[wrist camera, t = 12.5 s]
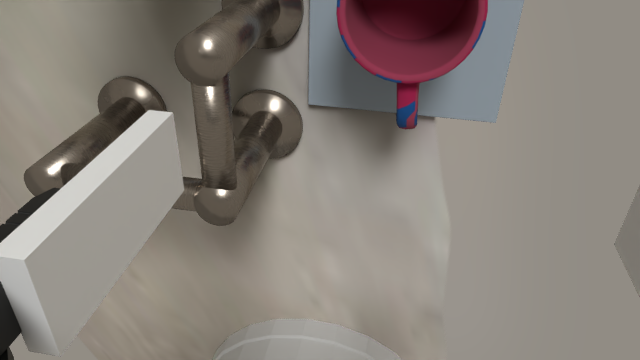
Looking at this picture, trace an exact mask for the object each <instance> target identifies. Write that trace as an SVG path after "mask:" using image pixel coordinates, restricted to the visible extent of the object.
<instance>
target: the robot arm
mask: <svg viewBox="0 0 640 360" xmlns="http://www.w3.org/2000/svg"><path fill="white" fill-rule="evenodd" d="M183 191H184V184H183V177H182V170H181V163H180V157H179V150H178V143H177V136H176V129H175V122H174V115H173V112H164V111H154V110H148V111H147V112H146V113H145V114H144V115H143V116H142V117H140V118H139V119H138V120H137V121H136V122H135V123H134V124H133V125H132V126H130V127H129V128H128V129H127V130H126V131H125V132H124V133H123V134H121V135H120V136H119V137H118V138H117V139H116V140H115V141H114V142H113V143H111V144H110V145H109V146H108V147H107V148H106V149H105V150H104V151H102V152H101V153H100V154H99V155H98V156H97V157H96V158H95V159H94V160H92V161H91V162H90V163H89V164H88V165H87V166H86V167H85V168H83V169H82V170H81V171H80V172H79V173H78V174H77V175H76V176H75V177H73V178H72V179H71V180H70V181H69V182H68V183H67V184H66V185H64V186H63V187H62V188H52V189H50V190H48V191H46V192H44V193H42V194H40V195H38V196H36V197H34V198H32V199H31V200H30V201H29V202H28V203H26V204H25V205H24V206H23V207H22V208H21V209H19V210H18V213H15V214H14V215H12V216H11V217H10V218H9V219H8V220H7V221H6V224H2V225H1V226H0V360H14V357H13V355H12V352H11V350H10V348H9V346H10V345H11V344H12V342H13V341H14V340H15V339H16V338H17V336H18V335H19V334H20V333H21V334H22V336H23V339H24V341H25V343H26V345H27V348H28V350H29V351H32V352H37V353H43V354H49V355H54V356H60V357H61V356H62V355H63V353H64V352H65V351H66V349H67V348H68V347H69V345H70V344H71V343H72V341H73V340H74V339H75V337H76V336H77V335H78V333H79V332H80V330H81V329H82V328H83V326H84V325H85V324H86V322H87V321H88V320H89V318H90V317H91V316H92V314H93V313H94V312H95V310H96V309H97V307H98V306H99V305H100V303H101V302H102V301H103V299H104V298H105V297H106V295H107V294H108V293H109V291H110V290H111V289H112V287H113V286H114V284H115V283H116V282H117V280H118V279H119V278H120V276H121V275H122V274H123V272H124V271H125V270H126V268H127V267H128V266H129V264H130V263H131V262H132V260H133V259H134V257H135V256H136V255H137V253H138V252H139V251H140V249H141V248H142V247H143V245H144V244H145V243H146V241H147V240H148V239H149V237H150V236H151V234H152V233H153V232H154V230H155V229H156V228H157V226H158V225H159V224H160V222H161V221H162V220H163V218H164V217H165V216H166V214H167V213H168V211H169V210H170V209H171V207H172V206H173V205H174V203H175V202H176V201H177V199H178V198H179V197H180V195H181V194H182V193H183ZM614 245H615V247H616V249H617V251H618V253H619V255H620V258H621V260H622V262H623V264H624V266H625V268H626V270H627V272H628V274H629V276H630V278H631V280H632V282H633V285H634V287H635V289H636V291H637V293H638V295H639V297H640V186H639V188H638V190H637V193H636V195H635V197H634V199H633V202H632V204H631V206H630V209H629V211H628V213H627V216H626V218H625V220H624V223H623V225H622V227H621V230H620V232H619V234H618V236H617V239H616V241H615V243H614Z"/></svg>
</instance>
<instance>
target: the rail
mask: <svg viewBox="0 0 640 360" xmlns="http://www.w3.org/2000/svg"><path fill="white" fill-rule="evenodd" d="M303 11H304V5H303V0H222V10H221V11H220V12H219V13H217V14H216V15H214V16H213V17H212V18H210V19H209V20H207V21H206V22H205V23H203V24H202V25H200V26H199V27H197V28H196V29H195V30H193V31H192V32H190V33H189V34H188V35H186V36H185V37H183V38H182V39H181V40H180V41H179V42H178V44H177V46H176V49H175V62H176V65H177V67H178V69H179V71H180V73H181V74H182V75H183V76H184V77H185V78H186V79H187V80H188V81H190V82H191V88H192V97H193V105H194V114H195V122H196V131H197V139H198V148H199V156H200V165H201V173H202V179H198V178H189V177H183V184H184V191H183V193H182V194H181V195H180V197H179V198H178V199H177V201H176V202H175V203H174V205H173V206H172V207H171V208H174V209H181V210H189V211H196V212H197V213H198V215H199V216H200V217H201V218H202V219H204V220H205V221H206V222H208V223H210V224H213V225H217V226H224V225H228V224H230V223H232V222H233V221H234V220H235V219H236V217H237V215H238V213H239V211H240V209H241V208H242V206H243V204H244V202H245V200H246V198H247V197H248V195H249V193H250V191H251V189H252V187H253V186H254V184H255V182H256V180H257V178H258V176H259V175H260V173H261V171H262V169H263V167H264V165H265V164H266V162H267V160H268V158H270V159H272V158H280V157H283V156H285V155H287V154H289V153H290V152H291V151H292V150H294V148H295V147H296V146H297V144H298V142H299V140H300V138H301V135H302V131H303V122H302V118H301V115H300V113H299V111H298V109H297V107H296V106H295V105H294V103H293V102H292V101H291V100H289V99H288V98H287V97H286V96H284V95H282V94H280V93H278V92H275V91H272V90H255V91H252V92H249V93H248V94H246V95H244V96H243V97H242V98H241V99H240V100H239V101H238V103H237V104H236V105H235V107H234V109H233V111H232V107H231V94H230V80H229V71H230V70H231V69H232V68H233V67H234V66H235V65H236V64H237V63H238V62H239V60H240V59H241V58H242V57H243V56H244V55H245V54H246V53H247V52H248V51H249V50H250V49H251V48H252V47H256V48H262V49H269V48H275V47H278V46H281V45H283V44H284V43H286V42H287V41H288V40H290V39H291V38H292V37H293V35H294V34H295V33H296V31H297V30H298V28H299V26H300V24H301V22H302V18H303ZM98 108H99V112H100V114H99V115H98V116H96V117H95V118H94V119H92V120H91V121H90V122H88V123H87V124H86V125H85V126H83V127H82V128H81V129H79V130H78V131H77V132H75V133H74V134H73V135H71V136H70V137H69V138H67V139H66V140H65V141H64V142H62V143H61V144H60V145H58V146H57V147H56V148H54V149H53V150H52V151H50V152H49V153H48V154H47V155H45V156H44V157H43V158H41V159H40V160H39V161H37V162H36V163H35V164H33V165H32V166H31V167H29V168H28V169H27V170H26V171H25V173H24V181H25V184H26V186H27V188H28V189H29V191H30V192H31V193H32V194H33V195H34V196H38V195H40V194H42V193H44V192H46V191H48V190H50V189H52V188H62V187H63V186H64V185H66V184H67V183H68V182H69V181H70V180H71V179H72V178H73V177H75V176H76V175H77V174H78V173H79V172H80V171H81V170H82V169H83V168H85V167H86V166H87V165H88V164H89V163H90V162H91V161H92V160H94V159H95V158H96V157H97V156H98V155H99V154H100V153H101V152H102V151H104V150H105V149H106V148H107V147H108V146H109V145H110V144H111V143H113V142H114V141H115V140H116V139H117V138H118V137H119V136H120V135H121V134H123V133H124V132H125V131H126V130H127V129H128V128H129V127H130V126H132V125H133V124H134V123H135V122H136V121H137V120H138V119H139V118H140V117H142V116H143V115H144V114H145V113H146V112H147V111H148V110H154V111H164V112H167V110H166V106H165V104H164V102H163V100H162V98H161V96H160V95H159V94H158V92H157V91H156V90H155V89H154V88H153V87H151V86H150V85H149V84H147V83H146V82H144V81H142V80H140V79H138V78H134V77H129V76H123V77H118V78H115V79H113V80H112V81H110V82H109V83H107V84H106V85H105V86H104V87H103V88H102V89H101V91H100V93H99V96H98ZM234 136H235V138H236V139H235V141H234Z"/></svg>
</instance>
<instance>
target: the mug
mask: <svg viewBox="0 0 640 360" xmlns="http://www.w3.org/2000/svg"><path fill="white" fill-rule="evenodd" d="M487 13H488V0H337V12H336V15H337V23H338V28H339V32H340V35H341V38H342V40H343V42H344V44H345V46H346V48H347V50H348V52H349V53H350V54H351V56H352V57H353V58H354V60H355V61H356V62H357V63H359V64H360V65H361V66H362V67H363V68H364V69H365V70H367V71H368V72H370V73H371V74H373V75H375V76H377V77H379V78H382V79H384V80H388V81H391V82H395V83H397V113H396V121H397V125H398V127H399V128H402V129H413V128H415V127H416V125H417V114H418V96H419V85H420V83H421V82H426V81H430V80H433V79H436V78H438V77H440V76H443V75H445V74H446V73H448V72H450V71H451V70H453V69H454V68H456V67H457V66H458V65H459V64H460V63H462V62H463V61H464V60H465V59H466V58H467V56H468V55H469V54H470V53H471V52H472V50H473V49H474V47H475V46H476V44H477V42H478V41H479V39H480V37H481V34H482V32H483V29H484V27H485V23H486V18H487Z"/></svg>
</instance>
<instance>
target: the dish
mask: <svg viewBox="0 0 640 360" xmlns="http://www.w3.org/2000/svg"><path fill="white" fill-rule="evenodd" d="M212 360H402V359H401V358H400V357H399V356H398V355H397V354H396V353H395V352H394V351H392V350H390V349H389V348H387V347H386V346H384V345H382V344H381V343H379V342H377V341H376V340H374V339H373V338H371V337H369V336H367V335H365V334H362V333H359V332H357V331H354V330H351V329H349V328H346V327H344V326H341V325H338V324H333V323H327V322H322V321H316V320H311V319H274V320H269V321H264V322H260V323H255V324H251V325H248V326H247V327H245V328H243V329H241V330H239V331H237V332H235V333H233V334H232V335H230V336H229V337H228V338H227V339H226V340H225V341H224V342H223V343H222V344H221V346H220V347H219V348H218V349H217V350H216V352H215V355H214V357H213V359H212Z"/></svg>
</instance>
